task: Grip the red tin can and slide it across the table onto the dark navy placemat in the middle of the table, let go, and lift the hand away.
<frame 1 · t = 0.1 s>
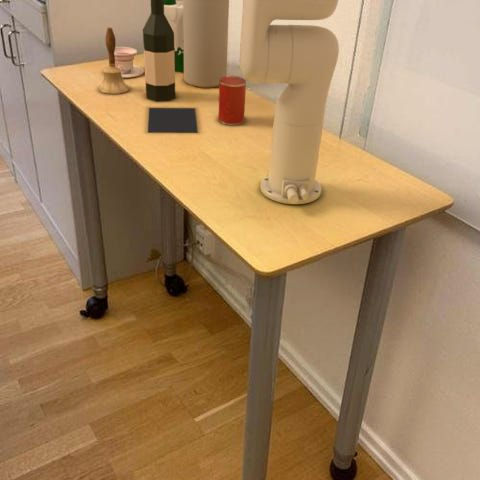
tin can: (231, 120, 150), on the table
hand bell: (114, 90, 163), on the table
teacup: (124, 73, 175), on the table
cylinder vase: (205, 82, 172), on the table
placemat: (172, 119, 148), on the table
wine bottle: (160, 97, 161), on the table
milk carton: (177, 68, 181), on the table
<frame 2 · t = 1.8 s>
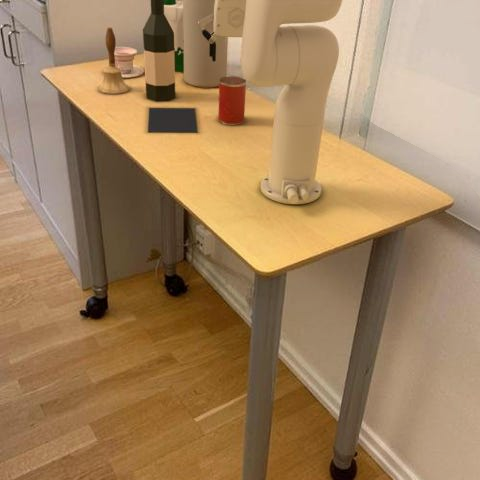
hand: (233, 60, 141), 15 cm above the table, tool pointing down, fingers open, 9 cm apart
nothing on the table moved.
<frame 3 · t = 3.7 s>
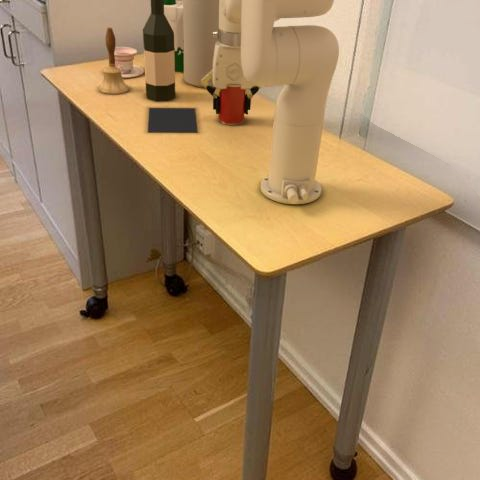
hand: (231, 111, 148), 2 cm above the table, tool pointing down, fingers closed on tin can, 6 cm apart
tin can: (231, 120, 150), on the table, touching gripper
everything else where it was.
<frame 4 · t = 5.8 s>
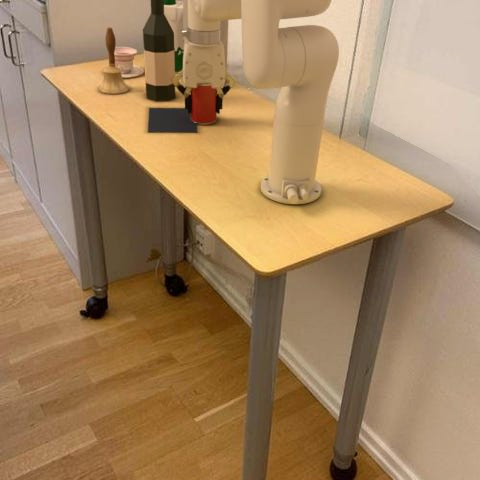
hand: (203, 111, 147), 2 cm above the table, tool pointing down, fingers closed on tin can, 6 cm apart
tin can: (203, 119, 149), on the table, touching gripper
everything else where it was.
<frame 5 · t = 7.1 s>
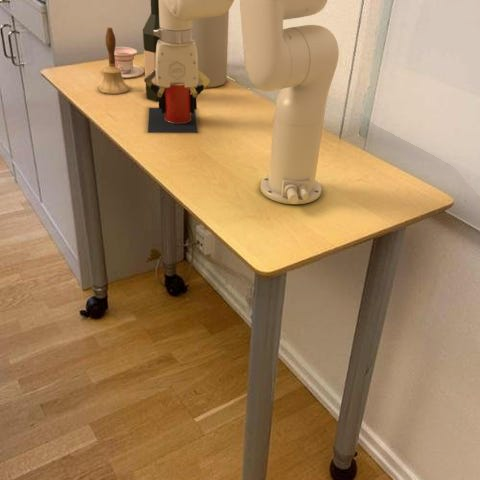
hand: (177, 110, 147), 2 cm above the table, tool pointing down, fingers closed on tin can, 6 cm apart
tin can: (178, 119, 148), resting on placemat, touching gripper
everything else where it was.
when the fingers open (2 cm above the table, at t = 7.9 s): tin can stays where it is, resting on placemat.
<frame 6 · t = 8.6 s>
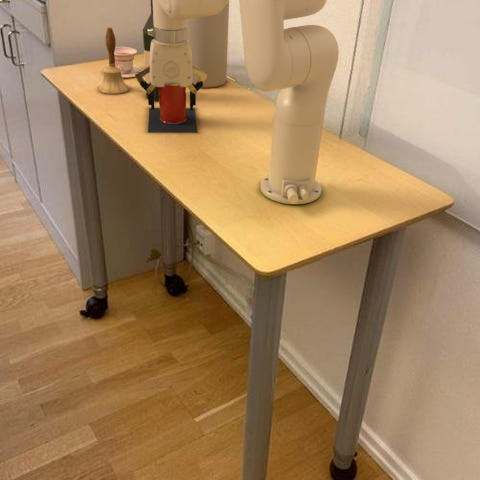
hand: (172, 108, 146), 3 cm above the table, tool pointing down, fingers open, 9 cm apart
tin can: (173, 119, 148), resting on placemat
everything else where it was.
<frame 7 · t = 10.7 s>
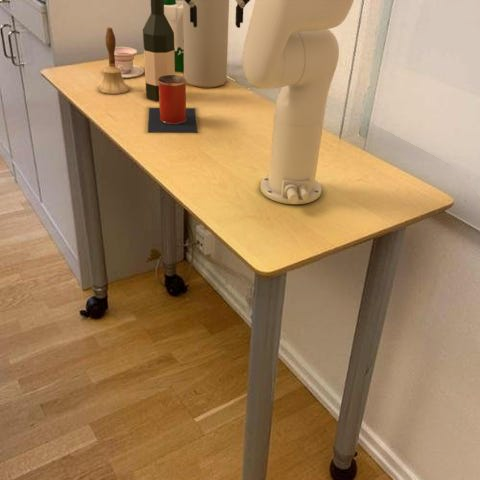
hand: (216, 26, 131), 23 cm above the table, tool pointing down, fingers open, 9 cm apart
nothing on the table moved.
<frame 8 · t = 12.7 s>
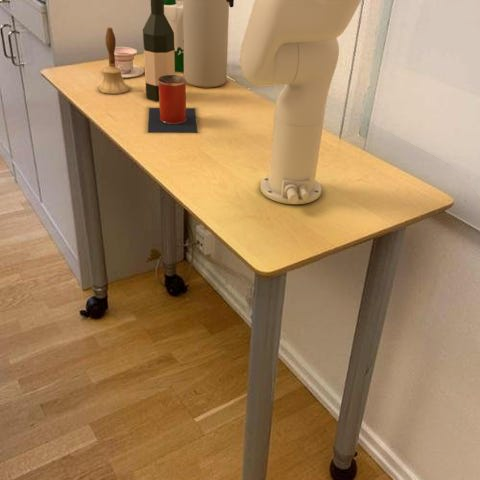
hand: (253, 6, 126), 28 cm above the table, tool pointing down, fingers open, 9 cm apart
nothing on the table moved.
at the end: tin can inside the target area (0.2 cm from its centre), resting on placemat; tin can tilted 0°; tin can moved 14.8 cm from its start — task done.
